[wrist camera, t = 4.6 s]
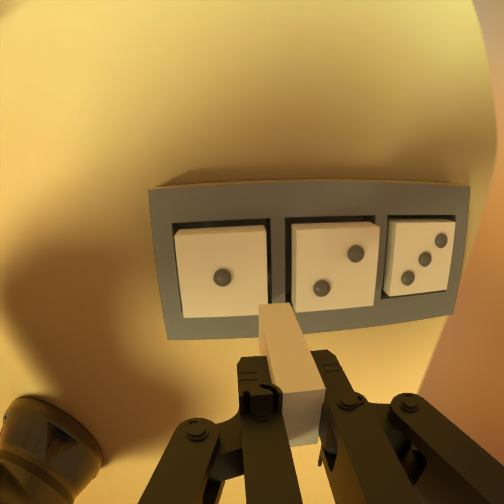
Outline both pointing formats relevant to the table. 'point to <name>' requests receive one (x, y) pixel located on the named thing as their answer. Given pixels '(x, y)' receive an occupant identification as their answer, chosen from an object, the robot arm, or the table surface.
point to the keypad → (280, 243)
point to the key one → (222, 270)
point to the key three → (417, 255)
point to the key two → (334, 265)
